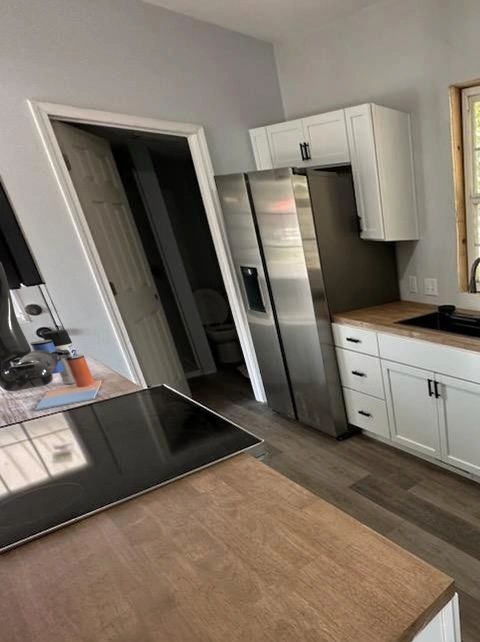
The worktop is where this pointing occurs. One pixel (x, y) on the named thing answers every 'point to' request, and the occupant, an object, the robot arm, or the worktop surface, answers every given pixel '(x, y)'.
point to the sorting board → (68, 395)
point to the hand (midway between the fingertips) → (48, 353)
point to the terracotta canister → (80, 371)
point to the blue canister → (48, 346)
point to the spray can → (62, 343)
